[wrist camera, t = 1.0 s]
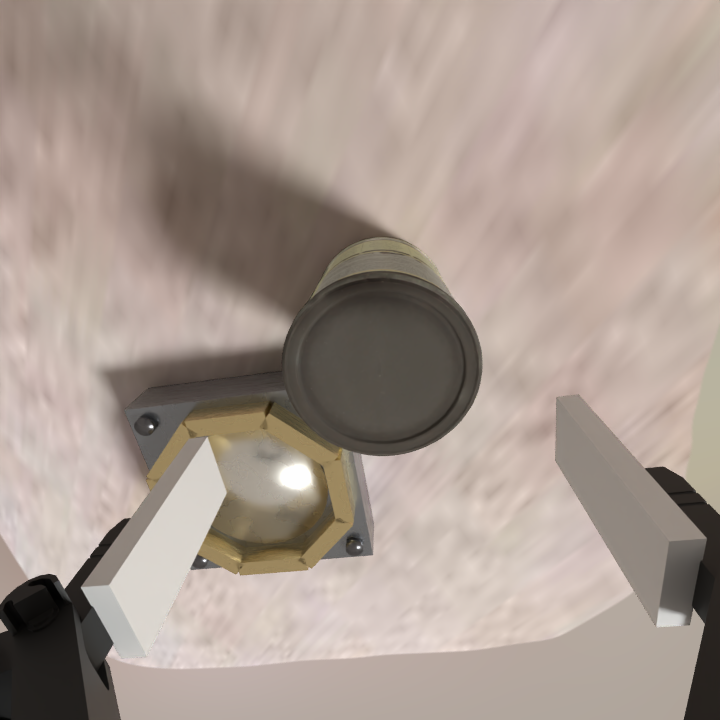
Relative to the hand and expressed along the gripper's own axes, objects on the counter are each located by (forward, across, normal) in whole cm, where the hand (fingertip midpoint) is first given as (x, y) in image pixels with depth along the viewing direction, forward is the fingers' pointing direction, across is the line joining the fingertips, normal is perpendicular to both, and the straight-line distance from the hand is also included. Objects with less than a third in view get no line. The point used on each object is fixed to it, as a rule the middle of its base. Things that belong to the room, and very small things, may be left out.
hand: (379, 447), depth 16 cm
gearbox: (+20, -13, -14) cm, 28 cm away
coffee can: (+21, 0, 0) cm, 21 cm away
